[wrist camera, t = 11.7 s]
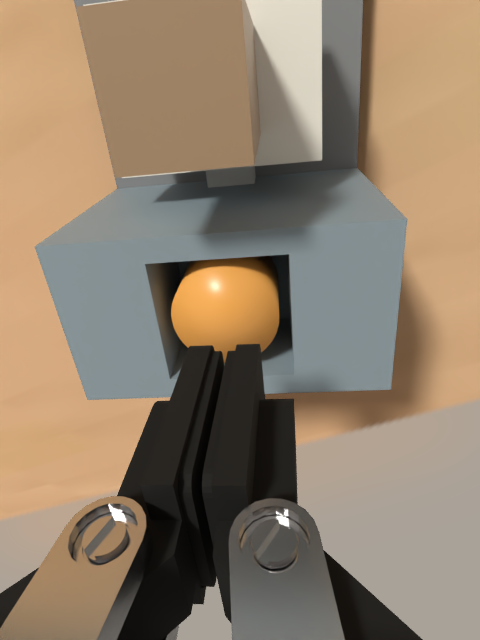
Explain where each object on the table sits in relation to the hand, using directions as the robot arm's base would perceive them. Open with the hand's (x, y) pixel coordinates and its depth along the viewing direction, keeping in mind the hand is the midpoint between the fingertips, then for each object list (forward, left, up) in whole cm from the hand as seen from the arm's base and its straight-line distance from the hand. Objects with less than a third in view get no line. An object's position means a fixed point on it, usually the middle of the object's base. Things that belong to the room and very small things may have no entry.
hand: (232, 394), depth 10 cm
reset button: (+1, 0, -7) cm, 7 cm away
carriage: (+1, -7, -11) cm, 13 cm away
